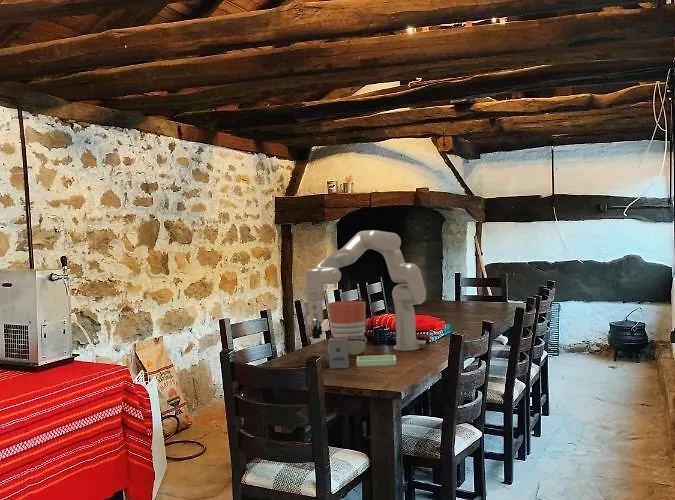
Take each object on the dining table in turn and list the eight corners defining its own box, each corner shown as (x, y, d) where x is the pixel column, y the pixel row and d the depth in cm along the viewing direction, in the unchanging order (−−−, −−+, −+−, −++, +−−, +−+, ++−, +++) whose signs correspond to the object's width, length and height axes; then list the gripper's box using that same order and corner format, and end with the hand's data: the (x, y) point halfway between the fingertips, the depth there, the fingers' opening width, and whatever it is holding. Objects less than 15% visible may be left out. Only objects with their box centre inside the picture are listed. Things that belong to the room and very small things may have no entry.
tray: (395, 360, 271) (395, 354, 271) (396, 365, 260) (396, 359, 260) (357, 361, 272) (356, 356, 272) (356, 367, 261) (356, 361, 261)
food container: (371, 357, 281) (370, 335, 281) (367, 359, 276) (366, 337, 276) (345, 356, 286) (344, 335, 285) (341, 359, 280) (340, 337, 280)
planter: (365, 339, 331) (364, 300, 330) (368, 345, 311) (366, 303, 311) (329, 341, 330) (328, 301, 330) (330, 347, 311) (328, 305, 310)
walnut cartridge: (337, 359, 279) (337, 344, 278) (337, 362, 274) (336, 346, 273) (326, 360, 279) (326, 345, 279) (326, 362, 274) (325, 347, 274)
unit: (349, 364, 268) (347, 336, 268) (348, 368, 259) (347, 340, 259) (330, 364, 268) (328, 337, 268) (328, 369, 260) (327, 340, 259)
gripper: (322, 298, 255) (324, 339, 255) (325, 294, 272) (327, 333, 273) (304, 299, 256) (306, 340, 256) (308, 295, 273) (310, 333, 273)
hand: (317, 336), depth 264 cm, fingers open, 9 cm apart
